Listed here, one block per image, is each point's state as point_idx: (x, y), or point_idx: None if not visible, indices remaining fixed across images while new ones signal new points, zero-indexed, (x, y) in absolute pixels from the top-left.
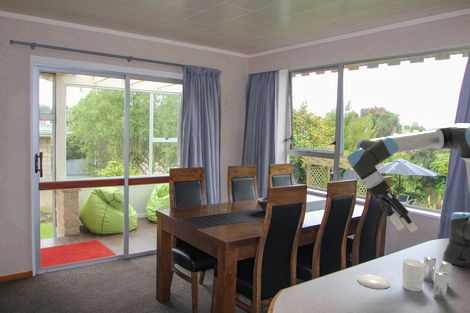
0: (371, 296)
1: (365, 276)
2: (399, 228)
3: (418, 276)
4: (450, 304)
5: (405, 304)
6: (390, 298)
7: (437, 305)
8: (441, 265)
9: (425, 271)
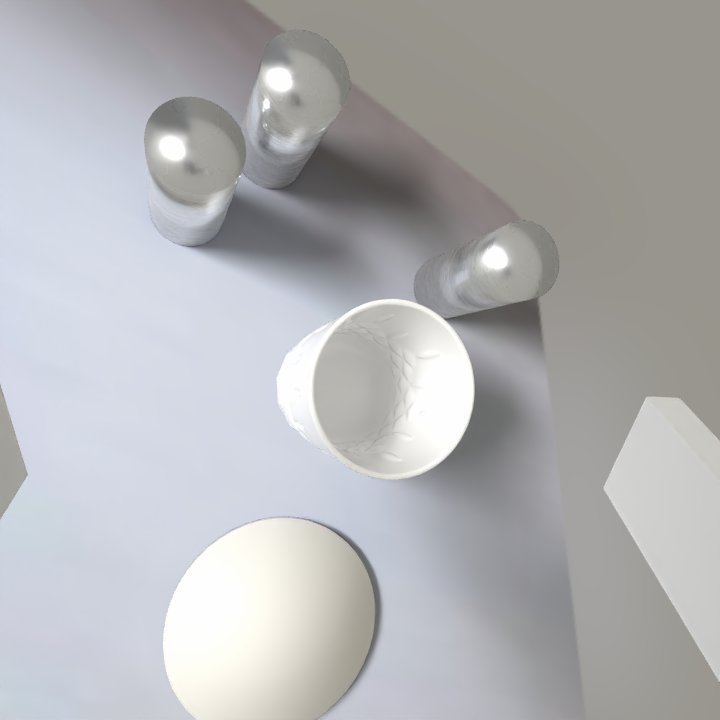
0: (468, 669)
1: (208, 675)
2: (5, 470)
3: (430, 382)
4: None
5: (528, 507)
6: (478, 567)
7: (518, 345)
8: (315, 127)
9: (208, 225)
